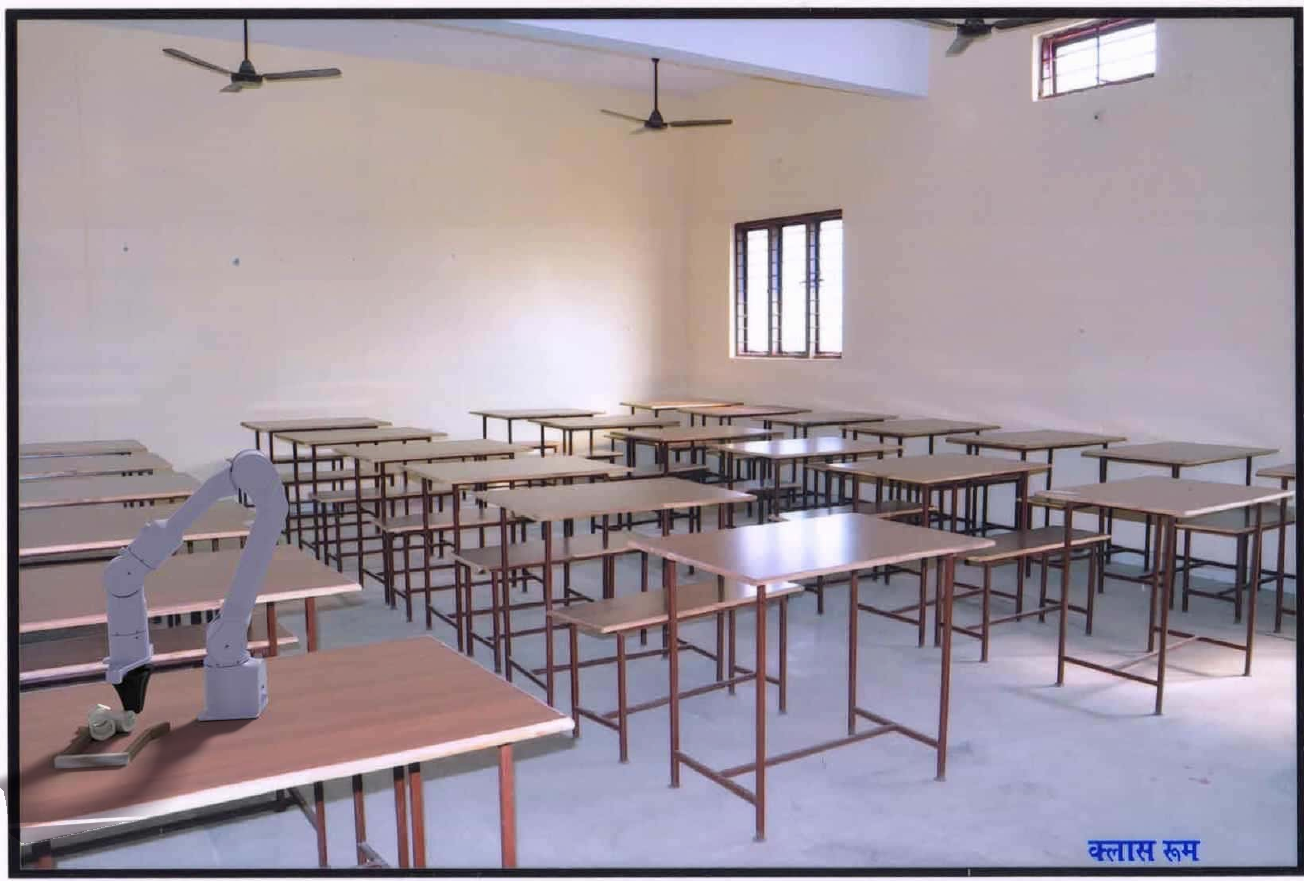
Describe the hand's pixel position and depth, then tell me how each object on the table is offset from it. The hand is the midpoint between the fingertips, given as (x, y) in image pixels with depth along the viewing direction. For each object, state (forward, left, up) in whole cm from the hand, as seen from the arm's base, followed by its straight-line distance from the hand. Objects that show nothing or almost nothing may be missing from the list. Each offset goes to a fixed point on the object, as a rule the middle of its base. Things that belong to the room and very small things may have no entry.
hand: (134, 712), depth 165 cm
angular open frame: (0, +11, -2) cm, 11 cm away
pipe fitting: (0, 0, -1) cm, 1 cm away
